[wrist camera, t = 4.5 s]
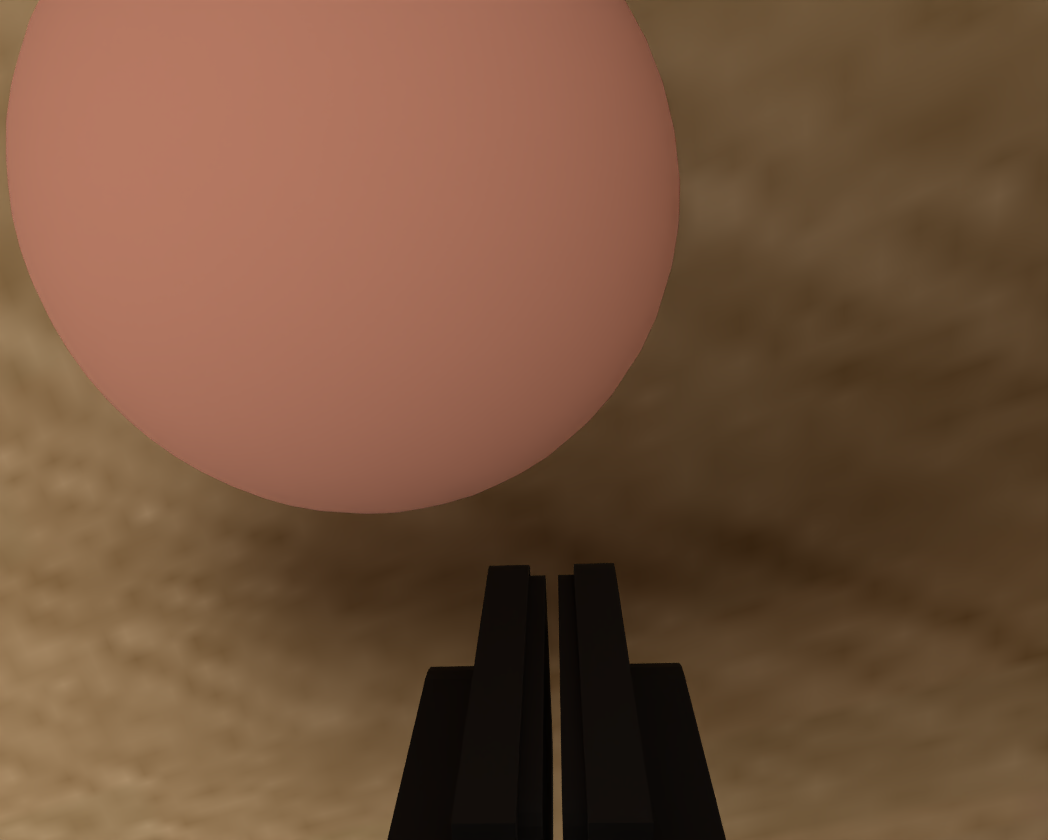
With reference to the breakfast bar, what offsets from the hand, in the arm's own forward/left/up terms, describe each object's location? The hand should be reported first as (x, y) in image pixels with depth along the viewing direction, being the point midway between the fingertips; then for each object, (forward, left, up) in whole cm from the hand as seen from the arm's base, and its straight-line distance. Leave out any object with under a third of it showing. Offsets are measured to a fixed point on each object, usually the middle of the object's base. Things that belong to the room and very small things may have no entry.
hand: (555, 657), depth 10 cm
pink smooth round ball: (+2, -6, +1) cm, 6 cm away
